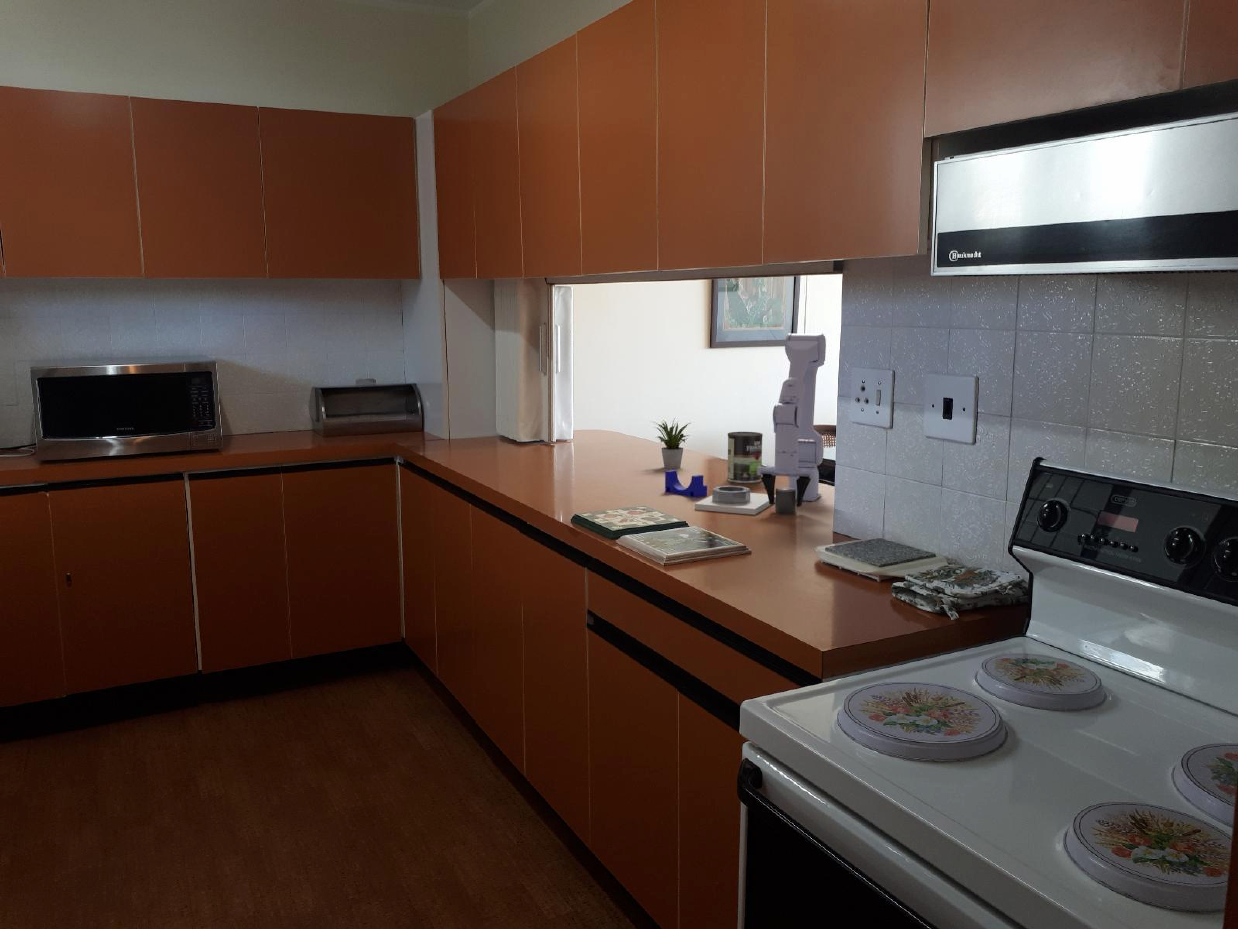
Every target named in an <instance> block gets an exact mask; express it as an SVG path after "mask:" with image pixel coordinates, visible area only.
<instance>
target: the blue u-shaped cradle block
mask: <svg viewBox="0 0 1238 929" xmlns="http://www.w3.org/2000/svg"><path fill="white" fill-rule="evenodd" d="M690 480H691V481H690V483H689V485H688V486H687V487H685V486H683V485H682V483H681V482H680V480H679V477H678V474H677V470H676V469H669V470H665V471H664V492H665V493H671V494H675V495H680V496H684V497H690V498H695V499H696V498H697V499H698V498H701V497H702V498H703V497H708V485H707V484H704V475H703V474H695V475H692V476H691V479H690Z"/></svg>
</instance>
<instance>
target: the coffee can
mask: <svg viewBox="0 0 1238 929" xmlns="http://www.w3.org/2000/svg"><path fill="white" fill-rule="evenodd" d="M763 436H764V434H763V433H761V432H757V431H732V432H727V479H726V481H727V482H730V483H736V484H737V483H738V484H757V483H761V482H762V480H761V477H762V475H757V467H759V466H762V467H763V465H762V464H763V463H762V462H763V461H762V460H763ZM760 481H761V482H760Z"/></svg>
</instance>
